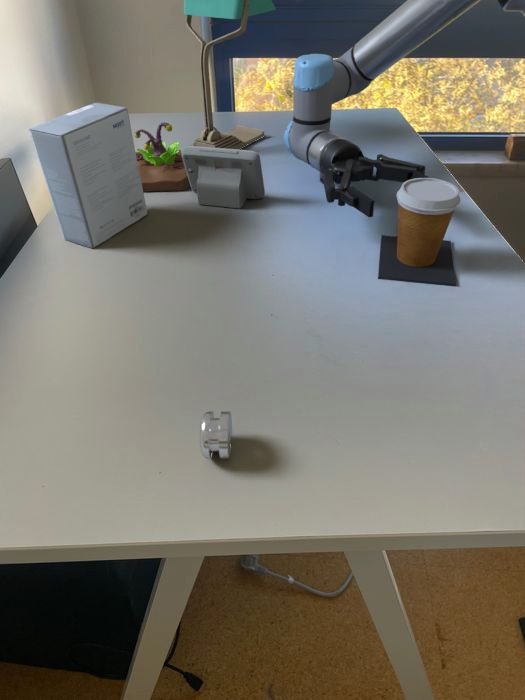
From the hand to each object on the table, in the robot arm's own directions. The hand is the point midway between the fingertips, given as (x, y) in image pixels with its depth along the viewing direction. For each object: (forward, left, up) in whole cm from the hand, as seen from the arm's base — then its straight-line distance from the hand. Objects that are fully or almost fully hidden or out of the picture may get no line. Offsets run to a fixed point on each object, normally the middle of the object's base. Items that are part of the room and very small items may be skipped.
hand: (406, 200), depth 84 cm
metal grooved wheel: (+19, +49, -9) cm, 53 cm away
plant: (+52, -24, -9) cm, 58 cm away
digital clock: (+35, -14, -9) cm, 39 cm away
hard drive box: (+54, +2, -9) cm, 55 cm away
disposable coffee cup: (-3, +4, -8) cm, 10 cm away
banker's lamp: (+42, -45, -9) cm, 62 cm away
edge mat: (-3, +4, -9) cm, 10 cm away
